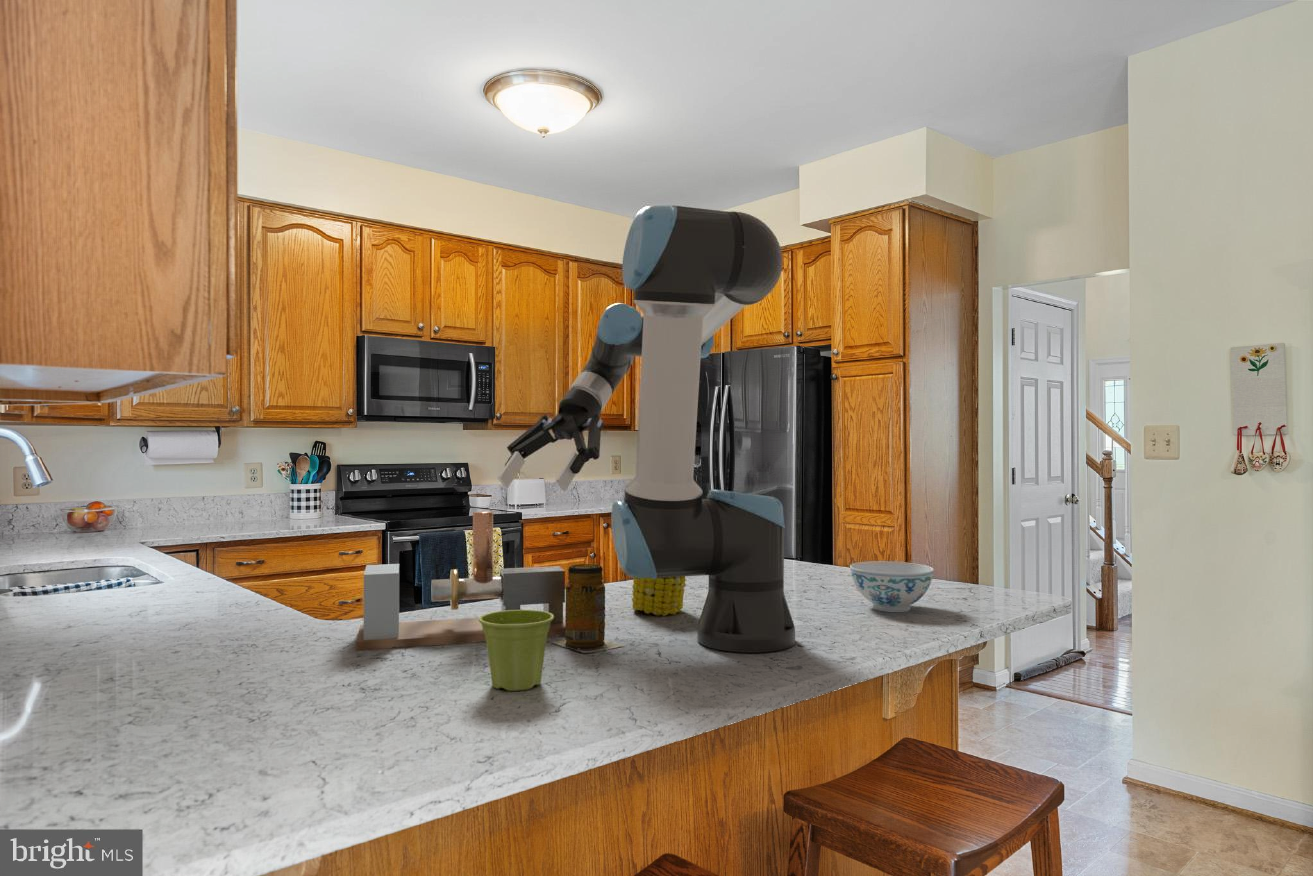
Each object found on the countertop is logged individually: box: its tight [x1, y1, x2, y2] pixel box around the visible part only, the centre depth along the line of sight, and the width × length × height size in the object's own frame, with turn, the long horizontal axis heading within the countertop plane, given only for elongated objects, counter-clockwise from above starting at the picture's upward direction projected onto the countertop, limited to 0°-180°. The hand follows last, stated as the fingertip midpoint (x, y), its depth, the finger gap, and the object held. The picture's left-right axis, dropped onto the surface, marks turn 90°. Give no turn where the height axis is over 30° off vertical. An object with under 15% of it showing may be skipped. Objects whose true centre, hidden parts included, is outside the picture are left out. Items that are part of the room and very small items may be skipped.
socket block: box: [363, 563, 400, 640], centre depth 126 cm, size 5×10×10 cm, turn 17°
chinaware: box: [849, 560, 935, 613], centre depth 150 cm, size 15×15×8 cm
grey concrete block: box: [499, 565, 566, 624], centre depth 133 cm, size 10×5×9 cm, turn 107°
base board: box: [355, 617, 565, 651], centre depth 130 cm, size 32×12×1 cm, turn 107°
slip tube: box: [430, 510, 503, 611], centre depth 132 cm, size 20×6×16 cm, turn 107°
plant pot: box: [478, 609, 554, 692], centre depth 103 cm, size 9×9×9 cm
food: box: [631, 576, 687, 617], centre depth 147 cm, size 15×12×10 cm
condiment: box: [552, 563, 623, 654], centre depth 123 cm, size 7×8×12 cm
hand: (530, 484), depth 141 cm, fingers open, 13 cm apart
